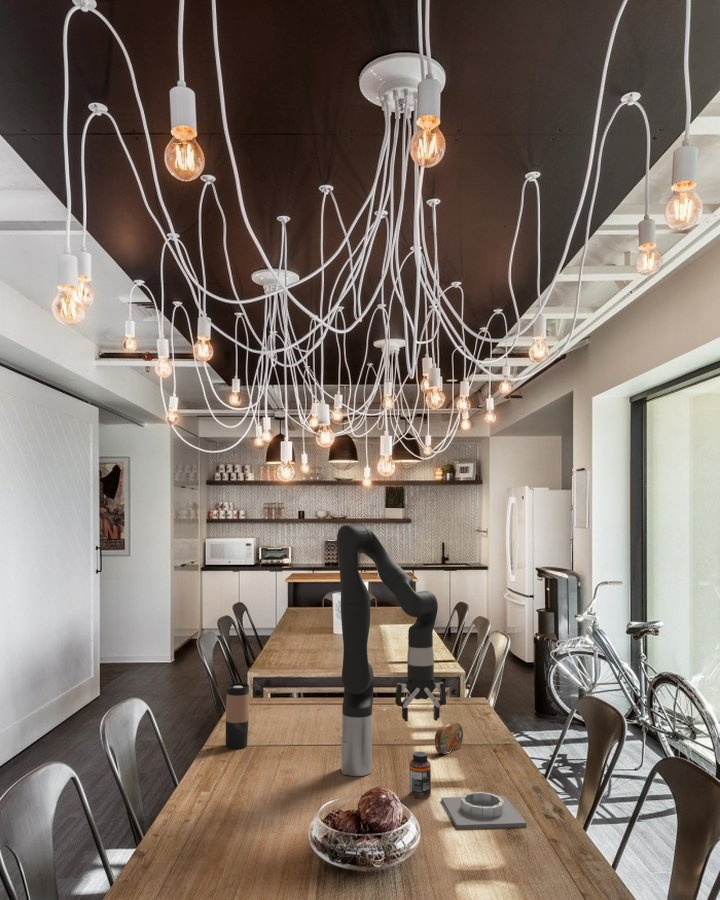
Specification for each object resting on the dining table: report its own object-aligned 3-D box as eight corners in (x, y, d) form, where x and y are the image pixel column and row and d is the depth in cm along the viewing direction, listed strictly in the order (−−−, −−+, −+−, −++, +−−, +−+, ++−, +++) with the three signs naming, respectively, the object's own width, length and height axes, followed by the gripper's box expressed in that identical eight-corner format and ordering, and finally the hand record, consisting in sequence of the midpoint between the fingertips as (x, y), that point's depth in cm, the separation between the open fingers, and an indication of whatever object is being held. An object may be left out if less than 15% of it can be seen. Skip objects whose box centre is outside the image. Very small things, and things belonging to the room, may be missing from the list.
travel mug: (250, 743, 249) (251, 683, 251) (244, 750, 242) (246, 688, 244) (228, 742, 250) (230, 682, 252) (222, 749, 243) (223, 687, 244)
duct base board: (457, 829, 183) (457, 825, 183) (441, 801, 201) (441, 797, 201) (526, 826, 185) (526, 822, 185) (504, 799, 203) (504, 795, 203)
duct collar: (467, 818, 187) (467, 808, 187) (456, 802, 198) (456, 792, 198) (508, 817, 188) (508, 807, 188) (496, 801, 199) (496, 791, 199)
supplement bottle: (417, 789, 209) (417, 748, 210) (434, 794, 205) (435, 753, 207) (405, 795, 205) (405, 753, 206) (422, 800, 201) (423, 758, 202)
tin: (441, 757, 238) (441, 730, 238) (432, 755, 239) (433, 729, 240) (463, 746, 250) (463, 720, 250) (455, 744, 251) (455, 719, 252)
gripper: (442, 659, 213) (442, 716, 211) (393, 660, 211) (393, 717, 210) (447, 664, 206) (448, 723, 204) (398, 665, 204) (398, 725, 203)
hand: (420, 720), depth 207 cm, fingers open, 8 cm apart
